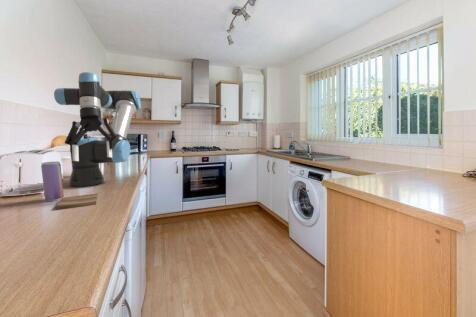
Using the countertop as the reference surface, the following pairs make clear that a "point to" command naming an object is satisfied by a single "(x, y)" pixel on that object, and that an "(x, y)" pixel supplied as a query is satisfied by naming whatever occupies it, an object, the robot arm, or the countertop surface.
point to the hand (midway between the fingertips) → (92, 159)
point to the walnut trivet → (77, 201)
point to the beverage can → (52, 181)
